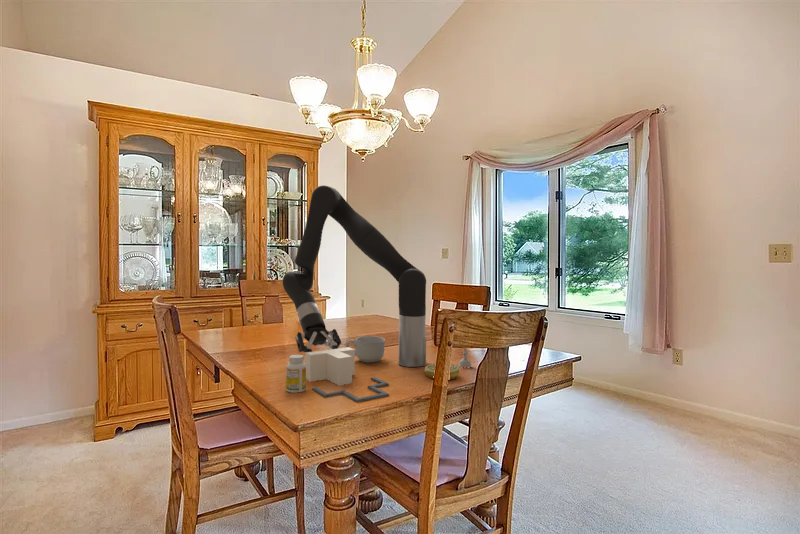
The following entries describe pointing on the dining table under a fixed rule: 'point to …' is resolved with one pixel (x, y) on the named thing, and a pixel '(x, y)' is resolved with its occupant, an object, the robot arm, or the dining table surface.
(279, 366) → the dining table surface
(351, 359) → the t block
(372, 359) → the teacup
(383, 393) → the t outline
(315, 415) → the dining table surface
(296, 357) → the supplement bottle
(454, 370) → the decorated donut
